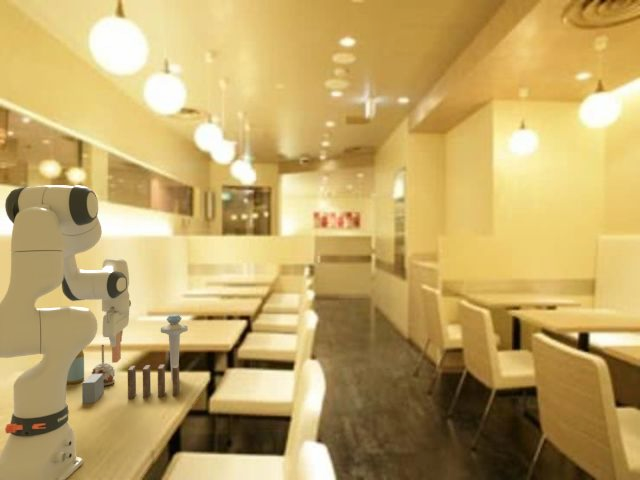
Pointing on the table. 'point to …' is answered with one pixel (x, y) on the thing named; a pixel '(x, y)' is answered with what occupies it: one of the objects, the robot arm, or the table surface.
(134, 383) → the domino
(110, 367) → the decorative ornament
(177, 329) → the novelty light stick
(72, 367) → the bottle
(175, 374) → the domino
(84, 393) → the end block
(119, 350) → the domino
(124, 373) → the table surface
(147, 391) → the domino
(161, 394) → the domino
